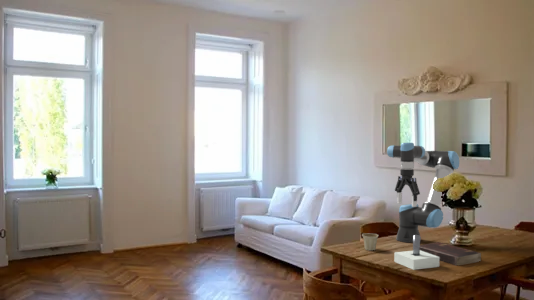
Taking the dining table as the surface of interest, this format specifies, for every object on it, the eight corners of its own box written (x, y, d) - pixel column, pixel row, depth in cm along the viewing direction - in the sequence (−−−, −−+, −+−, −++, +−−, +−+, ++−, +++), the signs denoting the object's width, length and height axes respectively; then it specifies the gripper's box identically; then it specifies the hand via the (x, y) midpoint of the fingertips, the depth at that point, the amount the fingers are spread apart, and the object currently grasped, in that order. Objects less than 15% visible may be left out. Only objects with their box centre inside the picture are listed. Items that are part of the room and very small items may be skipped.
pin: (416, 260, 247) (417, 234, 246) (421, 262, 244) (421, 235, 243) (411, 261, 246) (411, 235, 245) (415, 263, 242) (415, 236, 242)
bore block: (419, 259, 255) (419, 249, 255) (439, 266, 240) (439, 256, 240) (394, 261, 249) (394, 252, 249) (413, 269, 234) (413, 259, 234)
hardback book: (414, 254, 267) (414, 245, 267) (438, 250, 276) (438, 242, 276) (456, 266, 242) (456, 257, 241) (480, 262, 250) (481, 252, 250)
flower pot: (378, 251, 271) (378, 237, 271) (362, 251, 273) (362, 236, 273) (378, 248, 280) (378, 233, 280) (362, 247, 282) (362, 233, 282)
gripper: (389, 167, 284) (388, 202, 284) (415, 170, 260) (415, 208, 261) (399, 167, 286) (399, 201, 287) (426, 170, 263) (426, 207, 264)
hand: (406, 205), depth 274 cm, fingers open, 13 cm apart
